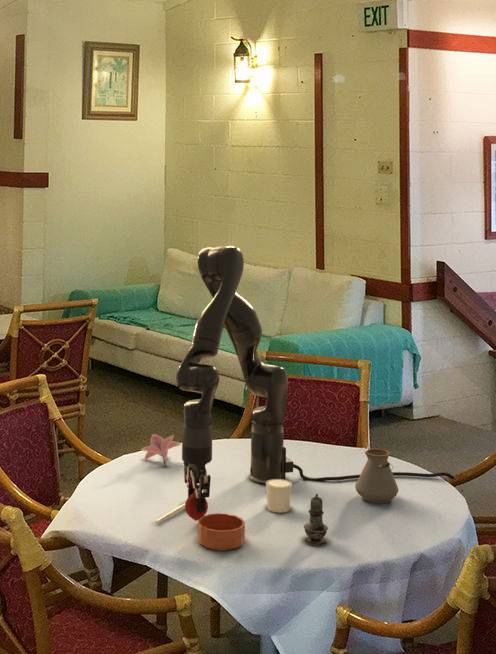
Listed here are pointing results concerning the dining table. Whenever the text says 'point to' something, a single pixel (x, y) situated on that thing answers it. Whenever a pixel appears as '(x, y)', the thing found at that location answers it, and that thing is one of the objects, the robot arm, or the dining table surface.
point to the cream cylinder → (278, 495)
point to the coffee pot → (377, 478)
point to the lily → (159, 446)
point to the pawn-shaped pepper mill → (315, 524)
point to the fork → (171, 513)
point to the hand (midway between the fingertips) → (196, 506)
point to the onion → (194, 507)
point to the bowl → (221, 531)
